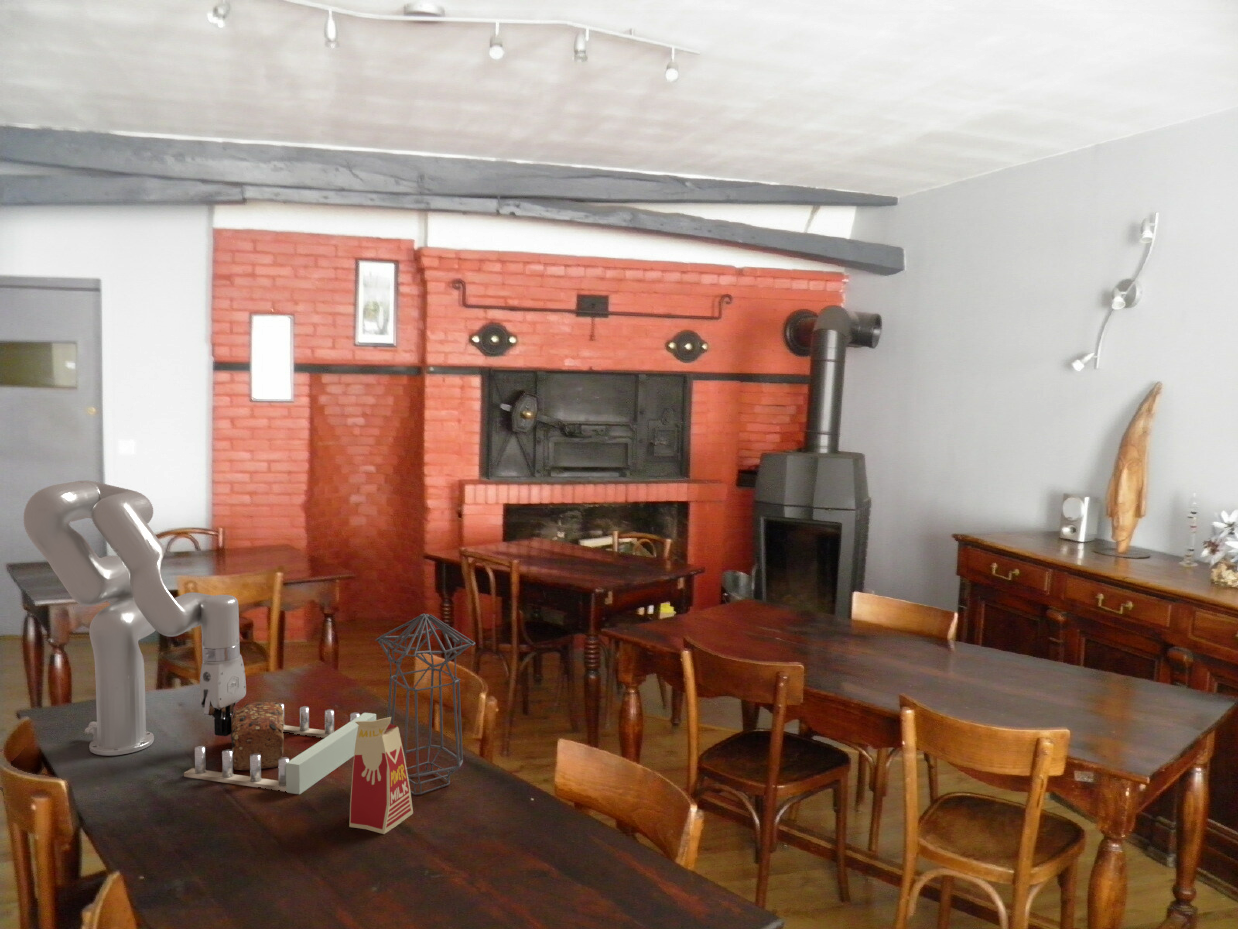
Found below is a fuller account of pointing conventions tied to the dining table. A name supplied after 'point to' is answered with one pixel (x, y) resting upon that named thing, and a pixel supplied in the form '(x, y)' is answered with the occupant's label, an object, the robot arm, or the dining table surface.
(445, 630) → the geometric lantern
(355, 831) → the dining table surface
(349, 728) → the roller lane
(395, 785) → the milk carton
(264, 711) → the bread
